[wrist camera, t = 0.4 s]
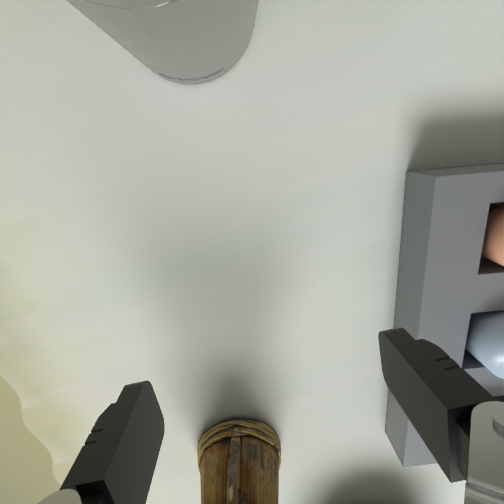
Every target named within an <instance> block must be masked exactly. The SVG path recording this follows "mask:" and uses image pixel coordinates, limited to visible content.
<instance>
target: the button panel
mask: <svg viewBox="0 0 504 504" xmlns="http://www.w3.org/2000/svg"><path fill="white" fill-rule="evenodd" d="M502 205H504V163H499V164H488V165H476V166H464V167H453V168H441V169H429V170H418V171H407V172H406V184H405V196H404V208H403V220H402V233H401V245H400V257H399V269H398V281H397V293H396V306H395V318H394V329H395V328H400V327H402V328H404V329H405V330H406V331H407V332H408V333H409V334H410V335H411V336H412V337H413V338H414V339H415V340H419V339H425V340H427V341H429V342H431V343H433V344H435V345H437V346H439V347H440V348H441V349H442V350H443V351H445V352H446V353H447V354H448V355H449V356H450V358H451V359H453V360H454V361H455V362H456V363H457V364H459V366H460V368H463V369H464V370H465V371H466V372H467V373H468V374H469V375H470V376H471V377H473V378H474V379H475V380H476V381H477V382H478V383H479V384H480V385H481V386H482V387H483V388H484V389H485V390H487V391H488V392H489V393H490V394H491V395H492V396H494V397H495V398H496V399H497V400H498V401H499V402H504V379H503V378H499V377H497V376H495V375H494V374H493V373H492V372H491V371H490V370H488V369H487V368H486V367H485V366H484V365H483V364H482V363H481V362H480V361H478V360H477V359H476V358H475V357H474V356H473V355H472V354H471V353H470V352H469V351H467V350H466V349H465V345H466V339H467V333H468V327H469V321H470V317H471V316H473V315H474V314H475V313H478V312H489V311H499V310H504V266H502V265H500V264H498V263H496V262H494V261H491V260H489V259H487V258H486V257H484V256H483V255H482V254H481V252H482V246H483V241H484V235H485V229H486V223H487V217H488V215H489V214H490V213H491V212H492V211H493V210H495V209H496V208H498V207H500V206H502ZM385 433H386V435H387V436H388V438H389V440H390V442H391V444H392V446H393V448H394V450H395V452H396V454H397V456H398V458H399V460H400V462H401V464H402V466H403V467H406V466H416V465H425V464H434V463H437V461H436V460H435V458H434V456H433V455H432V453H431V452H430V450H429V449H428V447H427V446H426V444H425V443H424V441H423V440H422V438H421V437H420V435H419V434H418V432H417V431H416V429H415V428H414V426H413V425H412V423H411V422H410V420H409V419H408V417H407V416H406V414H405V412H404V411H403V409H402V408H401V406H400V405H399V403H398V402H397V400H396V399H395V397H394V396H393V394H392V393H391V391H390V390H389V391H388V403H387V415H386V427H385Z"/></svg>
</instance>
